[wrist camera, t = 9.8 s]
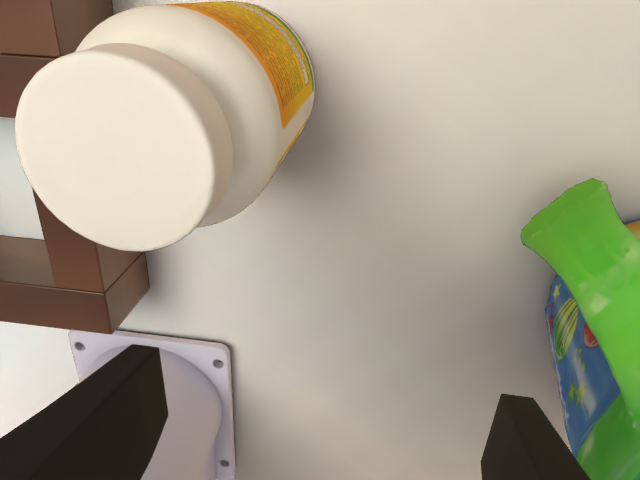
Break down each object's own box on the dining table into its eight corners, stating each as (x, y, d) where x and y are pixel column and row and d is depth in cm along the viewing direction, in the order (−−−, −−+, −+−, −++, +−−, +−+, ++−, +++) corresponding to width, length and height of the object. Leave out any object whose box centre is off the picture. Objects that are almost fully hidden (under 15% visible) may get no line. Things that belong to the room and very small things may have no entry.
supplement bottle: (301, 167, 19) (231, 310, 11) (168, 135, 19) (-7, 251, 11) (331, 19, 17) (270, 51, 8) (178, -18, 17) (-41, -23, 8)
